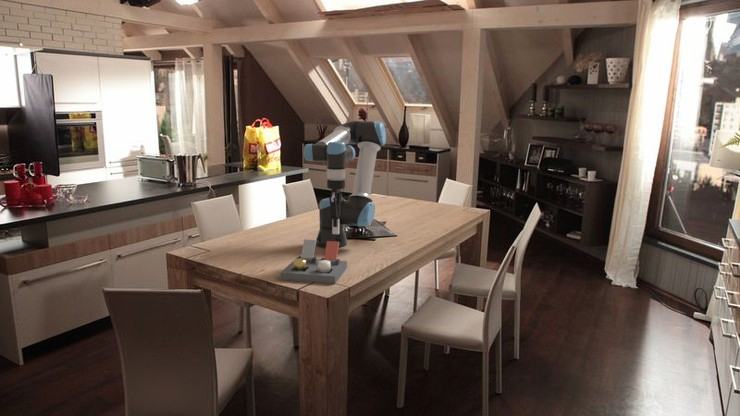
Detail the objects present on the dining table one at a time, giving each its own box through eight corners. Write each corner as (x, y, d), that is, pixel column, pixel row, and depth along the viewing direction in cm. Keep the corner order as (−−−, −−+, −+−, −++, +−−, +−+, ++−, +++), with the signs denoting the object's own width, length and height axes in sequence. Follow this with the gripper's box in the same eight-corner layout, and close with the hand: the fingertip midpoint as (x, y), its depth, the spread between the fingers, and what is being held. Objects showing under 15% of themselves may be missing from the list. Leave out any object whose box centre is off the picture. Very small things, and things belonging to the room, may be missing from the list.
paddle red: (324, 263, 208) (327, 242, 212) (336, 264, 207) (339, 242, 211) (323, 262, 206) (326, 240, 210) (335, 263, 206) (338, 241, 209)
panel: (297, 264, 215) (296, 253, 214) (347, 267, 212) (347, 256, 211) (280, 279, 196) (280, 267, 195) (335, 283, 192) (335, 271, 191)
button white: (319, 268, 201) (319, 259, 201) (331, 268, 201) (331, 260, 200) (316, 272, 197) (316, 263, 196) (328, 272, 196) (328, 264, 195)
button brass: (296, 266, 203) (295, 258, 202) (307, 267, 202) (307, 258, 202) (291, 270, 198) (291, 261, 198) (304, 271, 197) (304, 262, 197)
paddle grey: (301, 261, 210) (305, 240, 213) (312, 262, 209) (316, 241, 212) (300, 260, 208) (304, 239, 212) (311, 261, 207) (315, 240, 211)
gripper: (331, 176, 217) (331, 229, 221) (323, 180, 204) (323, 236, 209) (348, 177, 216) (347, 230, 220) (341, 181, 203) (340, 237, 207)
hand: (335, 233), depth 214 cm, fingers closed
